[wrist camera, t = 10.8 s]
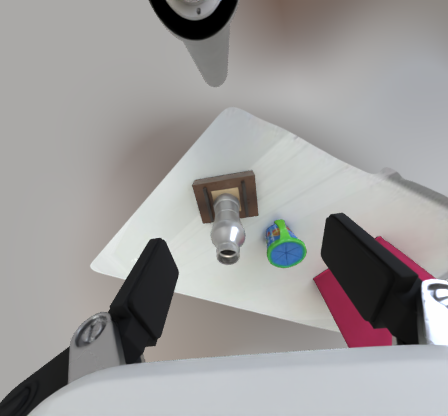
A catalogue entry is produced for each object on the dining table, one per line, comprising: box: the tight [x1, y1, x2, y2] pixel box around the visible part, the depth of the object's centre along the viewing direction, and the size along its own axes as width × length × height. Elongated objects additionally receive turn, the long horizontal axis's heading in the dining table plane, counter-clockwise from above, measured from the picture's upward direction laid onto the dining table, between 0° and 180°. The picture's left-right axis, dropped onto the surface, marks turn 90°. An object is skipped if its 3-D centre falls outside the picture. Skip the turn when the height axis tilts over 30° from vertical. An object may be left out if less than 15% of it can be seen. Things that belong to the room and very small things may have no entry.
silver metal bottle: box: [211, 193, 245, 265], centre depth 35 cm, size 6×7×20 cm
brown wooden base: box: [192, 171, 258, 224], centre depth 45 cm, size 12×16×6 cm
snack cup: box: [266, 220, 307, 268], centre depth 49 cm, size 16×10×10 cm
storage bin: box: [313, 236, 437, 348], centre depth 51 cm, size 28×29×28 cm
